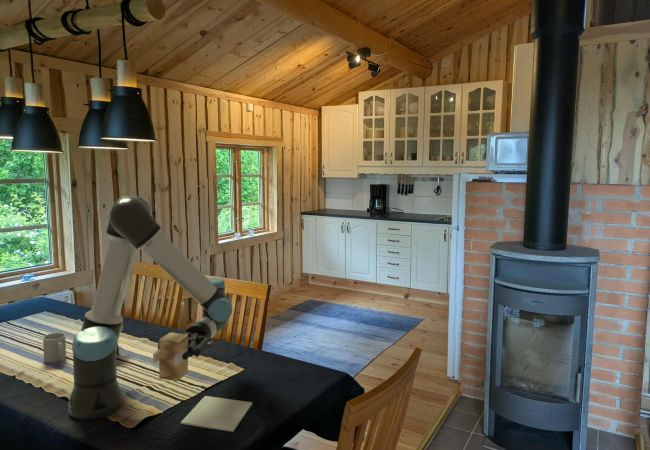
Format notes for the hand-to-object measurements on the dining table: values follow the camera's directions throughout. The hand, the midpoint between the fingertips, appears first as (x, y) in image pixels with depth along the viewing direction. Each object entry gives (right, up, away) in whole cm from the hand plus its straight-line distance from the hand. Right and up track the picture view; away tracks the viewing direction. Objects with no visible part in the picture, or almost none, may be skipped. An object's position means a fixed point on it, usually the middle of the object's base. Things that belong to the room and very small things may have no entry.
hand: (164, 359), depth 136 cm
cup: (-54, -12, +40) cm, 68 cm away
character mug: (-37, -11, +47) cm, 61 cm away
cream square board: (+13, -19, +8) cm, 24 cm away
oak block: (+1, -6, +6) cm, 9 cm away
